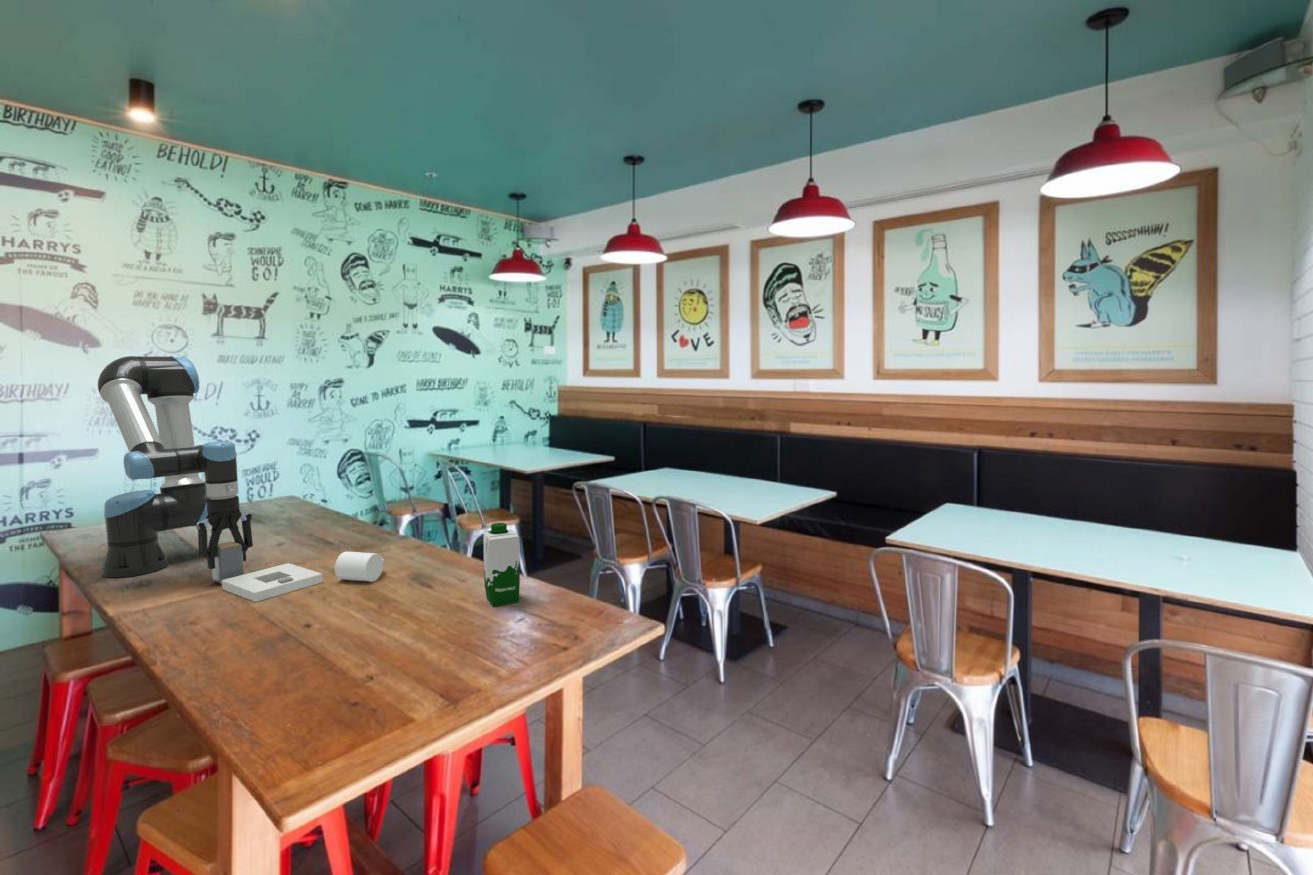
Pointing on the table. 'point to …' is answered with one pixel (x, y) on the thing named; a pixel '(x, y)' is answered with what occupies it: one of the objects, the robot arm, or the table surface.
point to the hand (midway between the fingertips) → (228, 575)
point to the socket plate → (271, 582)
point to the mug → (359, 566)
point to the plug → (229, 560)
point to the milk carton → (501, 565)
